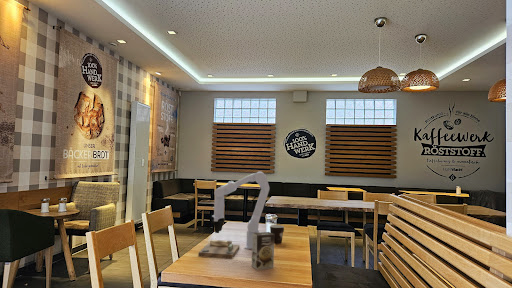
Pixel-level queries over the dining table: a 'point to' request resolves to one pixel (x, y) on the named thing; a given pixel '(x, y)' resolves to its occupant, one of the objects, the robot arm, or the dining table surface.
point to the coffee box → (263, 250)
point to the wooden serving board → (219, 251)
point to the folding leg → (220, 243)
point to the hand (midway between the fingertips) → (218, 231)
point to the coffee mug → (277, 233)
